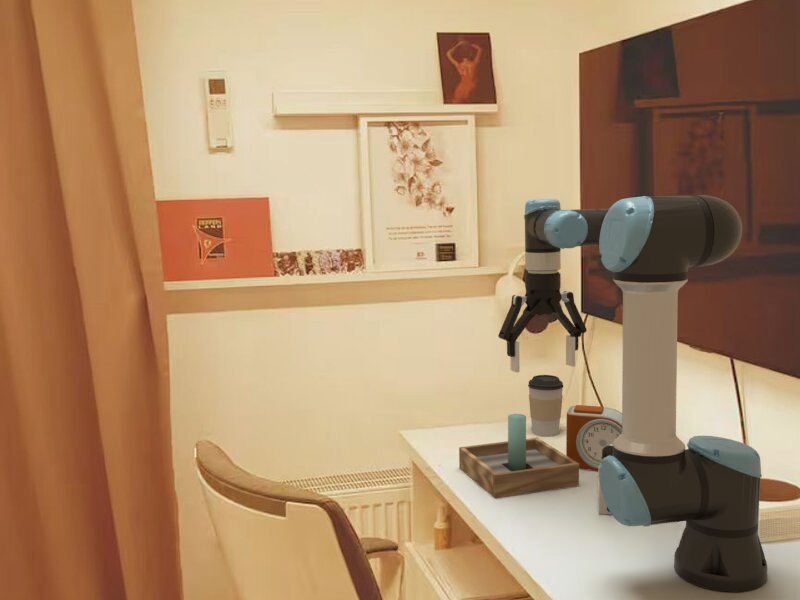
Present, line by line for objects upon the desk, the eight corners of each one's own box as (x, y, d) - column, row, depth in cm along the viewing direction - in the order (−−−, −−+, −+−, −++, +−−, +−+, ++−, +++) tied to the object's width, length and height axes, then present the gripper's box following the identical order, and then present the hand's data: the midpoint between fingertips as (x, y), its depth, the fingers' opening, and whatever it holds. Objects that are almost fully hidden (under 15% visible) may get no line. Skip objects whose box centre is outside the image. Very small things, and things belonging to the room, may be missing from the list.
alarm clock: (564, 468, 209) (565, 411, 207) (570, 456, 217) (570, 401, 215) (630, 474, 204) (632, 416, 202) (633, 462, 212) (635, 406, 210)
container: (638, 516, 181) (639, 454, 179) (598, 514, 182) (599, 452, 180) (636, 502, 188) (637, 441, 186) (598, 500, 190) (598, 440, 188)
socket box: (579, 485, 198) (579, 463, 197) (495, 498, 192) (494, 475, 191) (537, 457, 217) (537, 437, 216) (459, 468, 211) (459, 447, 210)
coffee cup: (543, 425, 242) (544, 370, 240) (570, 432, 235) (570, 376, 233) (520, 432, 237) (520, 376, 234) (547, 440, 230) (547, 382, 227)
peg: (529, 478, 203) (529, 417, 201) (512, 480, 202) (512, 419, 200) (521, 472, 207) (521, 413, 205) (505, 474, 206) (505, 415, 203)
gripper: (584, 266, 202) (584, 359, 205) (482, 273, 194) (483, 370, 197) (602, 269, 195) (602, 366, 198) (497, 276, 187) (498, 377, 190)
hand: (543, 368), depth 198 cm, fingers open, 13 cm apart
